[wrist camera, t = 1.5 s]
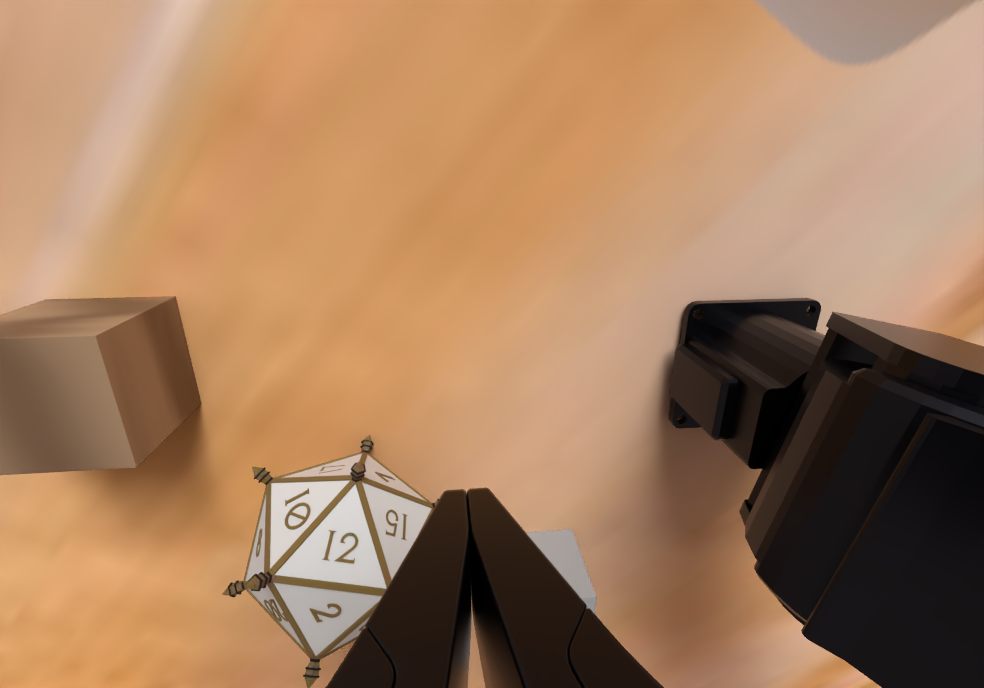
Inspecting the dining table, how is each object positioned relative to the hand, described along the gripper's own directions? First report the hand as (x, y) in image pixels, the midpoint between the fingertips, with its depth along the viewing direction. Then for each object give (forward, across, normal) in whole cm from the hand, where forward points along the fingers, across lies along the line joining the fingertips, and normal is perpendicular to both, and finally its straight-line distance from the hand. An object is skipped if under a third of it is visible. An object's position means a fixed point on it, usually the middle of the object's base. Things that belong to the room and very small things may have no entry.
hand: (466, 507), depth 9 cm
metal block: (+13, +14, +2) cm, 19 cm away
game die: (+13, +5, +9) cm, 17 cm away
